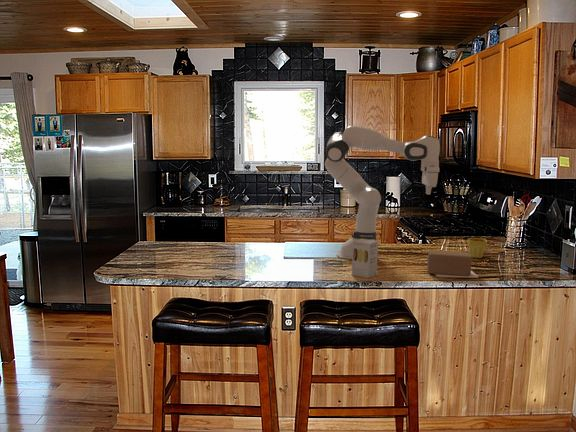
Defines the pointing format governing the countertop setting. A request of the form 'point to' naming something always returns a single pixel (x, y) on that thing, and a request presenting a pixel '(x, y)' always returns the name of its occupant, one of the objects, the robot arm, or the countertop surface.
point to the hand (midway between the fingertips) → (428, 194)
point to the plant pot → (477, 247)
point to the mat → (458, 276)
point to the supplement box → (364, 258)
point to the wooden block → (449, 263)
